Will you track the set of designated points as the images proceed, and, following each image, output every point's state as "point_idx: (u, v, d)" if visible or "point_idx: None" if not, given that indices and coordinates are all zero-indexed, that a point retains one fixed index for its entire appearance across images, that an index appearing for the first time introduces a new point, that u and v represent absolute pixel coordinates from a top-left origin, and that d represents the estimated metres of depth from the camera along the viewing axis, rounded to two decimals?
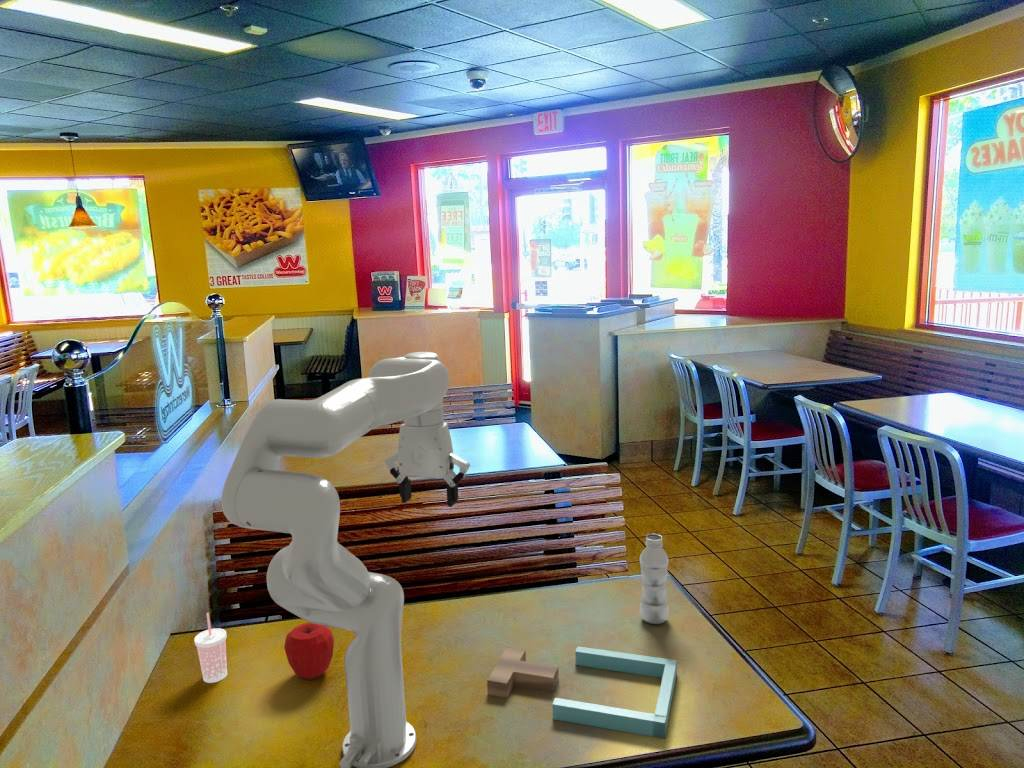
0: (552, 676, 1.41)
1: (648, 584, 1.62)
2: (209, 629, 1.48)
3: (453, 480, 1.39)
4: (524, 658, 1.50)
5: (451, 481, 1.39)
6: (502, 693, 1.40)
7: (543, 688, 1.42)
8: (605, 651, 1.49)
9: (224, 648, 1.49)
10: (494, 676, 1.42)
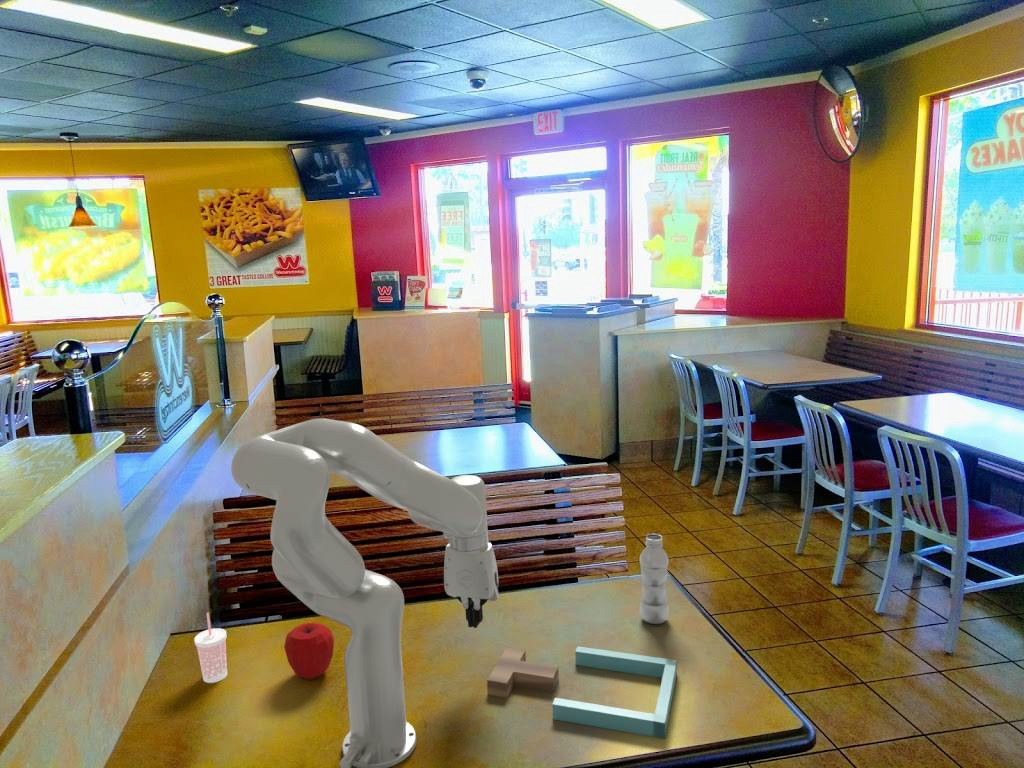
0: (552, 676, 1.41)
1: (648, 584, 1.62)
2: (209, 629, 1.48)
3: (480, 605, 1.44)
4: (524, 658, 1.50)
5: (478, 605, 1.44)
6: (502, 693, 1.40)
7: (543, 688, 1.42)
8: (605, 651, 1.49)
9: (224, 648, 1.49)
10: (494, 676, 1.42)
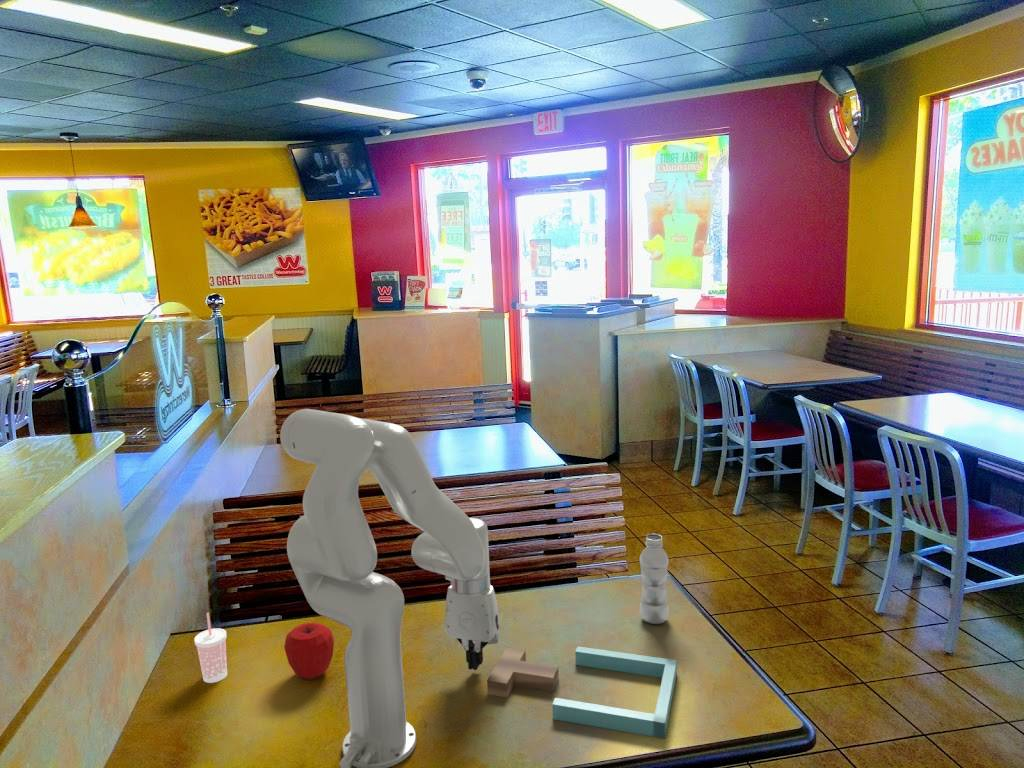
0: (552, 676, 1.41)
1: (648, 584, 1.62)
2: (209, 629, 1.48)
3: (480, 648, 1.45)
4: (524, 658, 1.50)
5: (478, 647, 1.45)
6: (502, 693, 1.40)
7: (543, 688, 1.42)
8: (605, 651, 1.49)
9: (224, 648, 1.49)
10: (493, 676, 1.42)
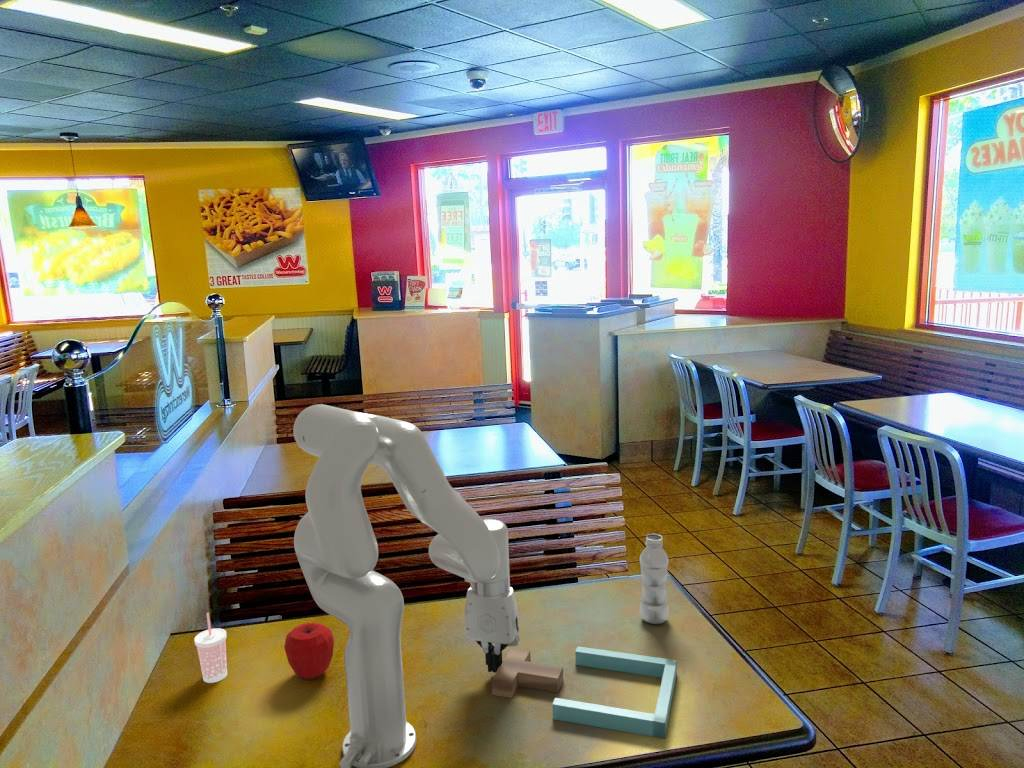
0: (557, 677, 1.41)
1: (648, 584, 1.62)
2: (209, 629, 1.48)
3: (500, 650, 1.44)
4: (529, 658, 1.50)
5: (498, 650, 1.44)
6: (506, 693, 1.40)
7: (548, 689, 1.41)
8: (605, 651, 1.49)
9: (224, 648, 1.49)
10: (498, 676, 1.41)
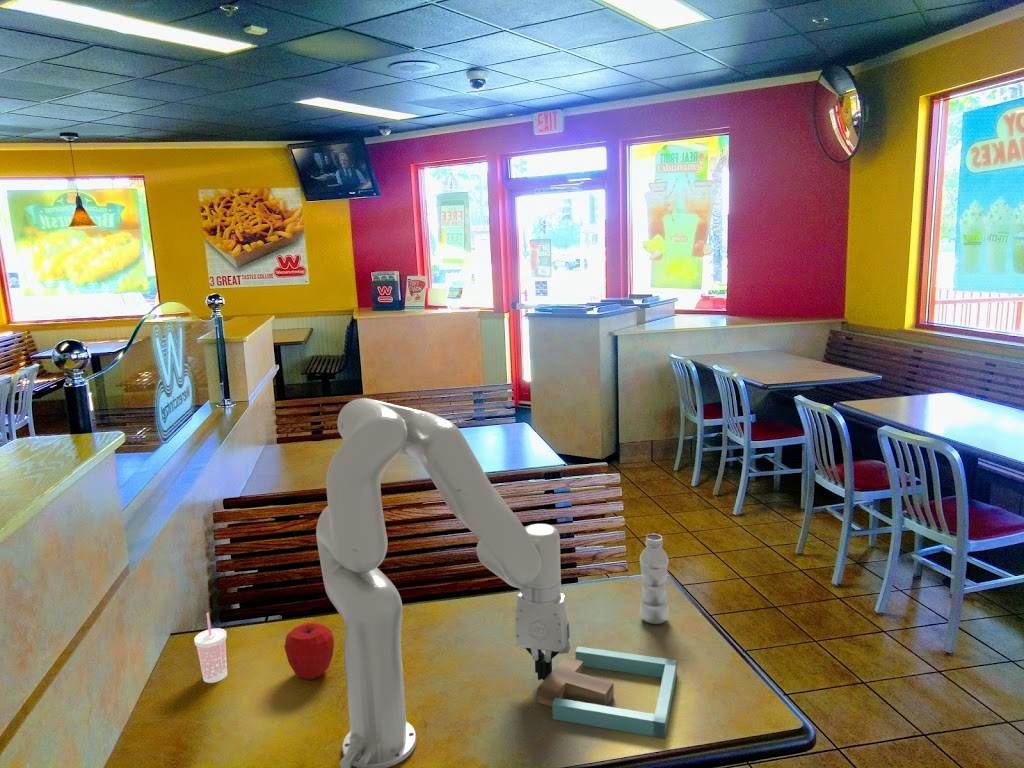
0: (604, 692, 1.35)
1: (648, 584, 1.62)
2: (209, 629, 1.48)
3: (550, 657, 1.41)
4: (581, 670, 1.45)
5: (549, 657, 1.41)
6: (552, 703, 1.36)
7: (595, 703, 1.36)
8: (605, 651, 1.49)
9: (224, 648, 1.49)
10: (545, 685, 1.38)
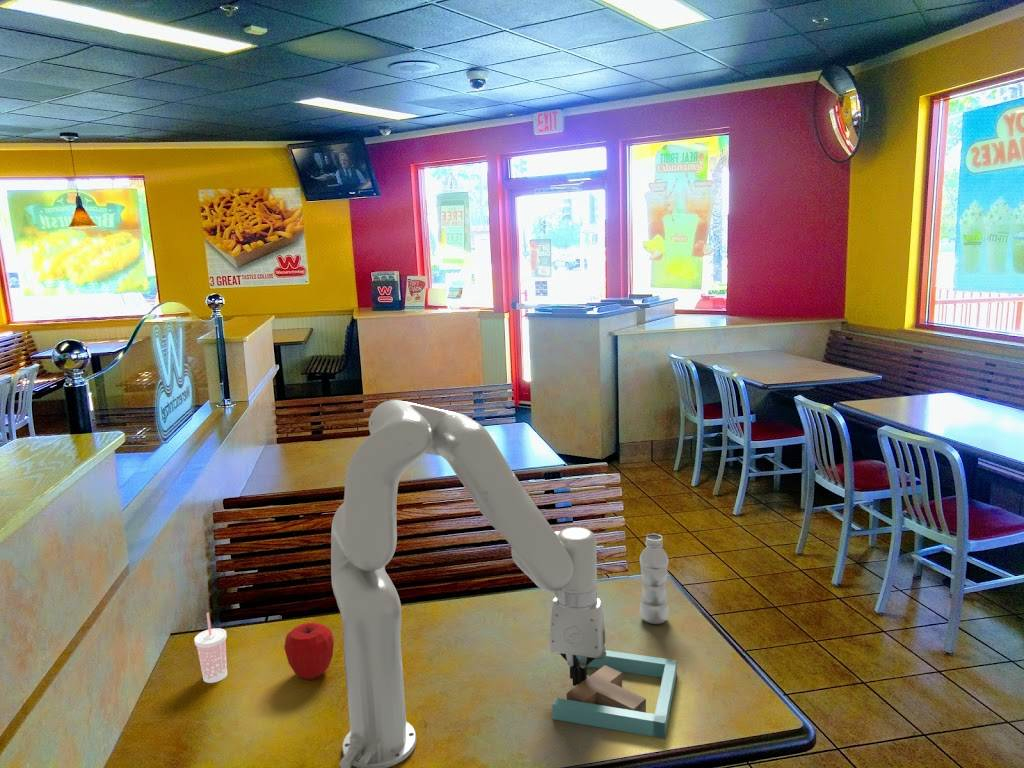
0: (633, 707, 1.31)
1: (648, 584, 1.62)
2: (209, 629, 1.48)
3: (586, 663, 1.39)
4: (619, 681, 1.41)
5: (584, 663, 1.39)
6: None
7: None
8: None
9: (224, 648, 1.49)
10: (575, 691, 1.36)
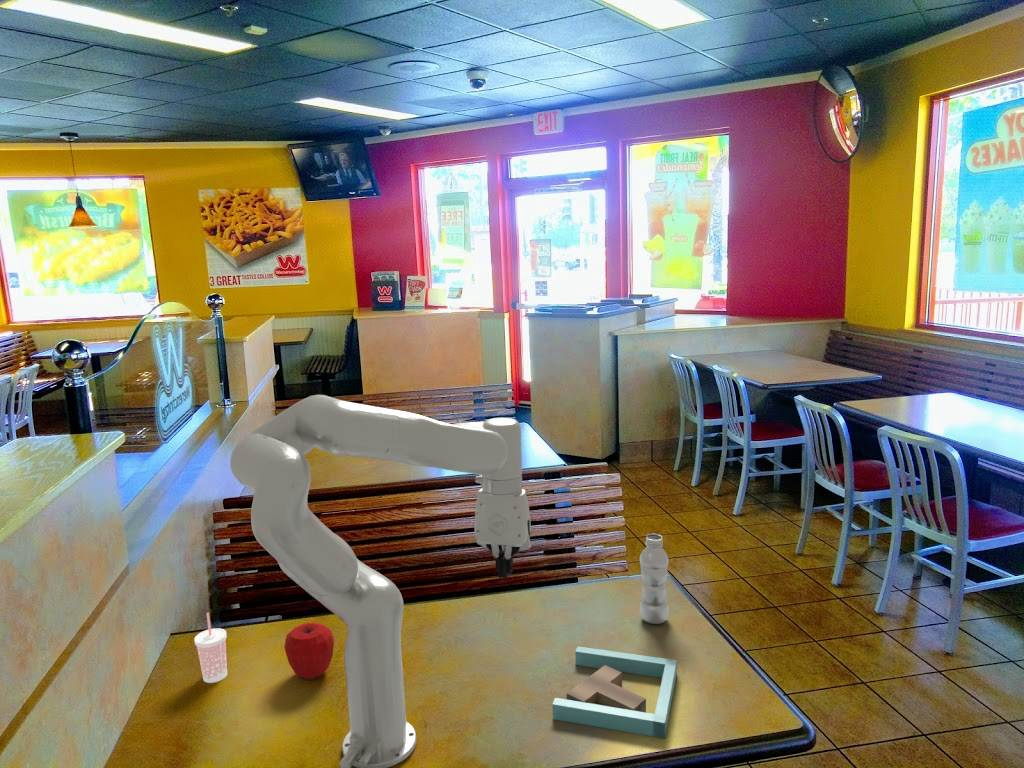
0: (633, 707, 1.31)
1: (648, 584, 1.62)
2: (209, 629, 1.48)
3: (511, 554, 1.39)
4: (619, 681, 1.41)
5: (509, 554, 1.39)
6: None
7: None
8: (605, 651, 1.49)
9: (224, 648, 1.49)
10: (575, 691, 1.36)
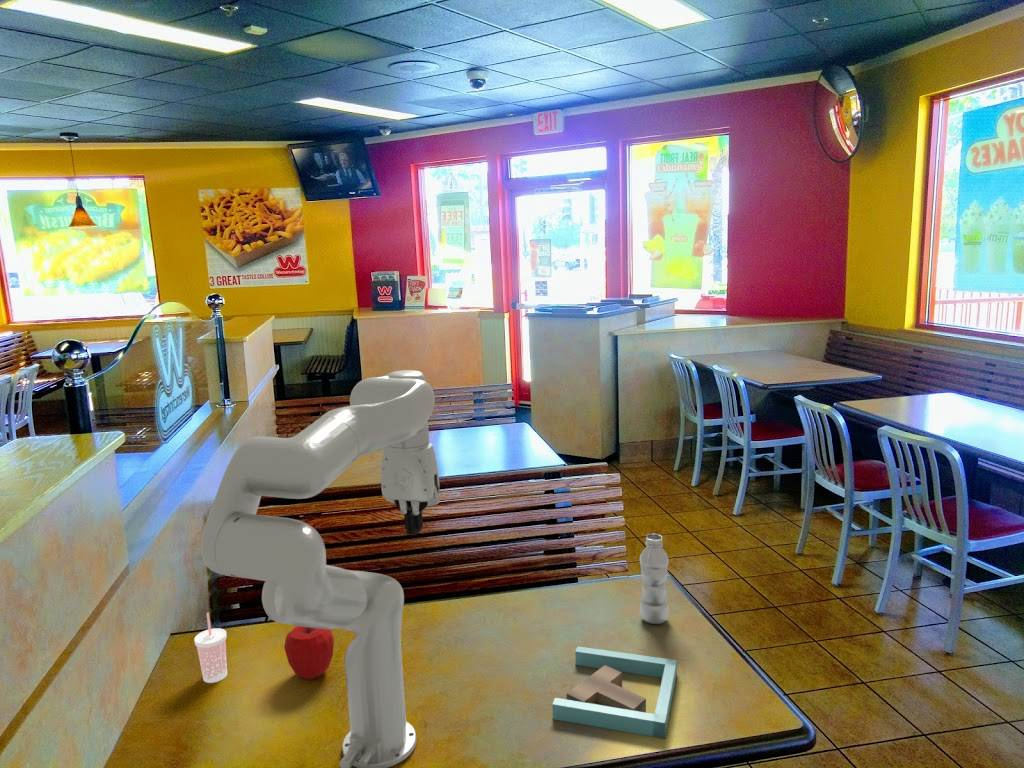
0: (633, 707, 1.31)
1: (648, 584, 1.62)
2: (209, 629, 1.48)
3: (419, 510, 1.36)
4: (619, 681, 1.41)
5: (417, 510, 1.36)
6: None
7: None
8: (605, 651, 1.49)
9: (224, 648, 1.49)
10: (575, 691, 1.36)
